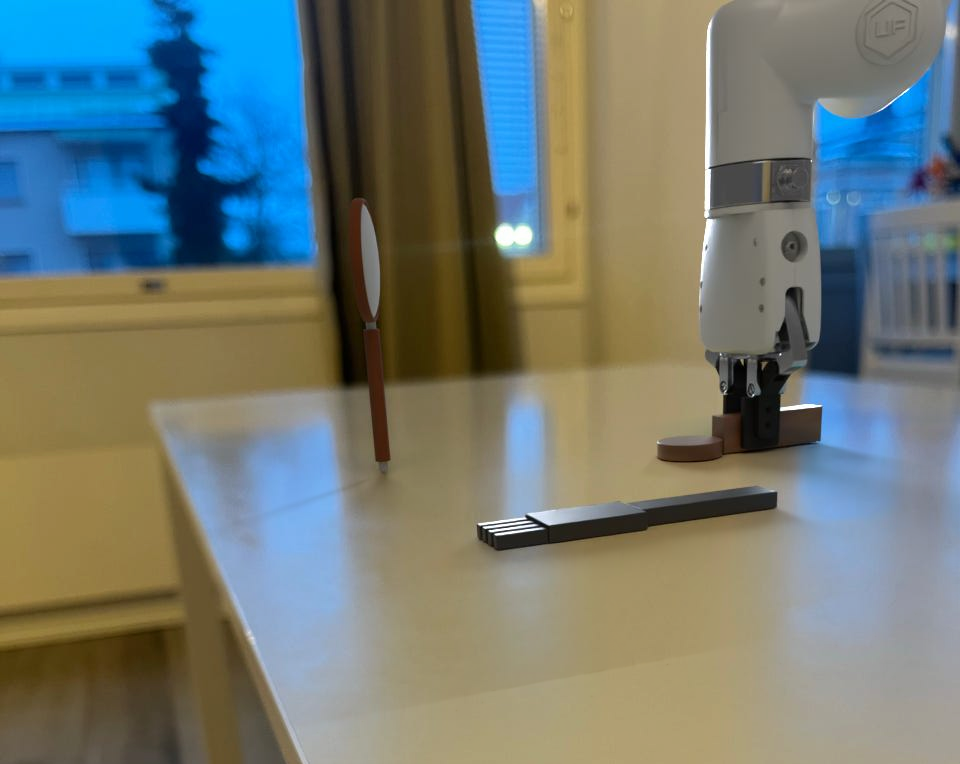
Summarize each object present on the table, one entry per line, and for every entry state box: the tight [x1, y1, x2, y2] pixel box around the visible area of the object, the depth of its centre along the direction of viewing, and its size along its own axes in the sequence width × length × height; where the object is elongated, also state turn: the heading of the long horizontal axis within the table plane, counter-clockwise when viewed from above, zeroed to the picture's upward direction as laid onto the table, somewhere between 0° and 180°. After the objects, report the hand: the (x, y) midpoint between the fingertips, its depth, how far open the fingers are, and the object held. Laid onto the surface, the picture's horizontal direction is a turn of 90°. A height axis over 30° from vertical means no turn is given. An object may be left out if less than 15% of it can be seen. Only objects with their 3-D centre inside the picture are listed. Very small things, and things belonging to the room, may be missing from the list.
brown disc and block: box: [656, 404, 823, 462], centre depth 78 cm, size 14×5×3 cm, turn 109°
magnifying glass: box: [348, 197, 391, 475], centre depth 75 cm, size 9×2×20 cm, turn 177°
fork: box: [476, 485, 778, 551], centre depth 57 cm, size 18×4×1 cm, turn 109°
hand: (750, 443), depth 79 cm, fingers closed on brown disc and block
